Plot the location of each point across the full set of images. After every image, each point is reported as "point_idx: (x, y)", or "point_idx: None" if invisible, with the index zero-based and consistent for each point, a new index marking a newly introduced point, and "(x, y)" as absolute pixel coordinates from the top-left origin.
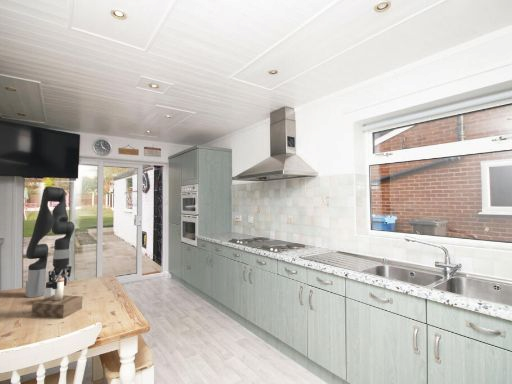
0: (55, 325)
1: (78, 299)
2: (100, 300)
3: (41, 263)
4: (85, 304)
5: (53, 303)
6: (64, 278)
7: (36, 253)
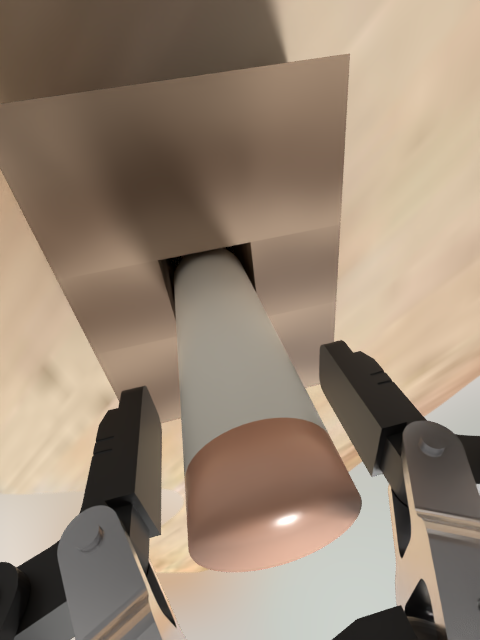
0: (56, 407)
1: None
2: (441, 307)
3: None
4: (369, 285)
5: (114, 346)
6: (390, 467)
7: None
